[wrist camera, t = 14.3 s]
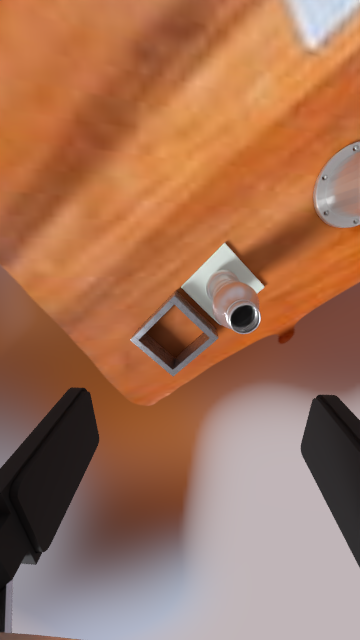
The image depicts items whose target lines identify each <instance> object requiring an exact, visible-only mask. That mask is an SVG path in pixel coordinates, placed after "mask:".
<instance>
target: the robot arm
mask: <svg viewBox="0 0 360 640" xmlns="http://www.w3.org/2000/svg"><path fill="white" fill-rule="evenodd" d="M322 178H323V180H322ZM313 201H314V207H315V210H316V212H317V214H318V216H319V217H320V219H321V220H322V221H324V222H325V223H326V224H328V225H330V226H333V227H337V228H347V227H354V226H358V225H360V141H359V142H356V143H353V144H350V145H348V146H347V147H345V148H343V149H342V150H340V151H339V152H337V153H336V154H335V155H334V156H333V157H332V158H331V159H330V160H328V162H327V163H326V164H325V166H324V167H323V168H322V170H321V172H320V174H319V175H318V178H317V180H316V183H315V187H314V192H313ZM324 213H325V214H324ZM353 221H354V222H353ZM98 443H99V434H98V430H97V424H96V419H95V415H94V410H93V405H92V400H91V395H90V393H89V392H87V390H86V389H85V388H70V389H69V390H68V391H67V392H66V393H65V394H64V395H63V397H62V398H61V399H60V400H59V401H58V402H57V403H56V405H55V406H54V407H53V408H52V409H51V410H50V412H49V413H48V414H47V415H46V416H45V417H44V419H43V420H42V421H41V422H40V423H39V424H38V426H37V427H36V428H35V429H34V430H33V432H31V434H30V435H29V436H28V437H27V438H26V440H25V441H24V442H23V443H22V444H21V445H20V446H19V448H18V449H17V450H16V451H15V452H14V454H13V455H12V456H11V457H10V458H9V459H8V460H7V462H6V463H5V464H4V465H3V466H2V467H1V468H0V640H78V639H69V638H60V637H50V636H41V635H29V634H15V633H12V593H13V577H14V575H15V573H16V572H17V570H18V568H19V566H20V564H21V563H24V564H35V565H36V564H37V562H38V560H39V558H40V556H41V554H42V552H45V551H46V550H47V549H48V548H49V546H50V544H51V542H52V540H53V538H54V536H55V534H56V532H57V530H58V528H59V526H60V524H61V521H62V519H63V517H64V515H65V513H66V511H67V509H68V507H69V505H70V503H71V500H72V498H73V496H74V494H75V492H76V490H77V488H78V486H79V484H80V482H81V480H82V478H83V475H84V473H85V471H86V469H87V467H88V465H89V463H90V461H91V459H92V457H93V454H94V452H95V450H96V448H97V446H98ZM301 453H302V455H303V458H304V460H305V462H306V463H307V466H308V468H309V469H310V471H311V473H312V475H313V477H314V479H315V481H316V483H317V485H318V487H319V489H320V491H321V493H322V495H323V497H324V499H325V501H326V503H327V505H328V507H329V508H330V510H331V512H332V514H333V516H334V518H335V520H336V522H337V524H338V526H339V528H340V530H341V532H342V534H343V536H344V538H345V540H346V542H347V544H348V546H349V548H350V550H351V551H352V553H353V555H354V557H355V559H356V561H357V563H358V565H359V567H360V420H359V419H358V418H357V417H356V416H355V415H354V414H353V413H352V412H351V411H350V410H349V409H348V407H347V406H346V405H345V404H344V403H343V402H342V401H341V400H340V399H339V398H338V397H337V396H335V395H318V396H317V397H316V398H314V399H313V400H312V404H311V408H310V412H309V416H308V420H307V424H306V427H305V431H304V435H303V439H302V443H301Z"/></svg>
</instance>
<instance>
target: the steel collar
mask: <svg viewBox="0 0 360 640" xmlns="http://www.w3.org/2000/svg"><path fill="white" fill-rule="evenodd" d="M174 304H175V305H176V306H177V307H178V308H179V309H180V310H181V311H182V312H183V313H184V314H185V315H186V316H187V317H188V318H189V319H190V320H191V321H193V322H194V323H195V324H196V325H197V326H198V327H199V328H200V329H201V330H202V331H203V332H204V333H203V334H202V335H201V336H199V337H198V338H197V339H196V340H195V341H194V342H193V343H191V344H190V345H189V346H188V347H187V348H186V349H185V350H184V351H182V352H181V353H180V354H179V355H178V356H177V357H176V358H174V357H173V356H172V355H171V354H170V353H169V352H167V351H166V350H165V349H164V348H163V347H162V346H161V345H159V344H158V343H157V342H156V341H155V340H154V339H153V338H151V337H150V336H149V335H148V334H147V333H146V332H147V331H148V330H149V329H150V328H151V327H152V326H153V325H154V324H155V323H156V322H157V321H158V320H159V319H160V318H161V317H162V316H163V315H164V314H165V313H166V312H167V311H168V310H169V309H170V308H171V307H172V306H173V305H174ZM217 339H218V334H217V330H216V328H215V327H214V326H213V325H212V324H211V323H210V322H209V321H208V320H207V319H206V318H205V317H203V316H202V315H201V314H200V313H199V312H198V311H197V310H196V309H195V308H194V307H193V306H192V305H191V304H190V303H189V302H188V301H187V300H186V299H185V298H184V297H183V296H182V295H181V294H180V293H179V292H178V291H177V290H176V291H175V292H174V293H173V294H172V295H171V296H170V297H169V298H168V299H167V300H166V301H165V302H164V303H163V304H162V305H161V306H160V307H159V308H158V309H157V310H156V311H155V312H154V313H153V314H152V315H151V316H150V317H149V318H148V319H147V321H146V322H145V323H144V324H143V325H142V326H141V327H140V328H139V329H138V330H137V331H136V332H135V334H134V335H133V337H132V338H131V341H132V342H133V343H134V344H135V345H137V346H138V347H139V348H140V349H141V350H142V351H144V352H145V353H146V354H147V355H148V356H150V357H151V358H152V359H153V360H154V361H155V362H157V363H158V364H159V365H160V366H161V367H163V368H164V369H165V370H166V371H167V372H168V373H170V374H171V375H172V376H174V375H176V374H177V373H178V372H179V371H180V370H181V369H183V368H184V367H185V366H186V365H187V364H189V363H190V362H191V361H192V360H193V359H194V358H196V357H197V356H198V355H199V354H200V353H202V352H203V351H204V350H205V349H206V348H207V347H209V346H210V345H211V344H212V343H213V342H215V341H216V340H217Z"/></svg>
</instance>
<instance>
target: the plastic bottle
mask: <svg viewBox="0 0 360 640" xmlns="http://www.w3.org/2000/svg"><path fill="white" fill-rule="evenodd" d="M206 292H207V295H208V297H209V298H210V300H211V301H212V310H213V314H214V317H215V319H216V320H217V321H218V322H219V323H220V324H221V325H223V326H225V327H226V328H229V329H233V330H234V331H235V332H237V333H240V334H247V333H250V332H252V331H254V330H255V329H256V328H257V327H258V325H259V323H260V320H261V315H260V312H259V299H258V296H257V293H256V292H255V290H254V289H253V288H252V287H250V286H249V285H247V284H245V283H242V282H239V279H238V277H237V276H236V275H235V274H234V273H233V272H231V271H229V270H219V271H216V272H215V273H213V274H212V275H211V276H210V277H209V279H208V281H207V284H206Z"/></svg>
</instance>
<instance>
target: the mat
mask: <svg viewBox="0 0 360 640" xmlns="http://www.w3.org/2000/svg"><path fill="white" fill-rule="evenodd" d="M219 270H229V271H231V272H233V273H234V274H235V275H236V276H237V277H238V279H239V282H242V283H245V284H247V285H249V286H250V287H252V288H253V289H254V290H255V292H256V293H258V292H259V291H261V290H262V289H263V288H264V286H263V284H262V283H261V282H260V281H259V280H258V279H257V278H256V277H255V276H254V275H253V273H252V272H251V271H250V270H249V269H248V268H247V267H246V266H245V265H244V264H243V262H242V261H241V260H240V259H239V258H238V257H237V256H236V255H235V254H234V253H233V251H232V250H231V249H230V248H229V247H228V246H227V245H226V244H225V243H224V244H223V245H222V246H221V247H220V248H219V249H218V250H217V251H216V252H215V253H214V254H213V255H212V256H211V257H210V258H209V259H208V260H207V261H206V262H205V263H204V264H203V265H202V266H201V267H200V268H199V269H198V270H197V271H196V272H195V273H194V274H193V275H192V276H191V277H190V278H189V279H188V280H187V281H186V282H185V283H184V284H183V285H182V286H181V288H182V289H183V290H184V291H185V292H186V293H187V294H188V295H189V296H190V297H191V298H192V299H193V300H194V301H196V302H197V303H198V304H199V305H200V306H201V307H202V308H203V309H204V310H205V311H206V312H207V313H208V314H209V315H210V316H211V317H212V318H213V319H214V320H215V321H216V322H217V323H218V324H219V325H221V324H220V323H219V322H218V321H217V320H216V319H215V317H214V314H213V310H212V301H211V300H210V298H209V297H208V295H207V292H206V284H207V281H208V279H209V277H210V276H211V275H212V274H213V273H215V272H216V271H219Z"/></svg>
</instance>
